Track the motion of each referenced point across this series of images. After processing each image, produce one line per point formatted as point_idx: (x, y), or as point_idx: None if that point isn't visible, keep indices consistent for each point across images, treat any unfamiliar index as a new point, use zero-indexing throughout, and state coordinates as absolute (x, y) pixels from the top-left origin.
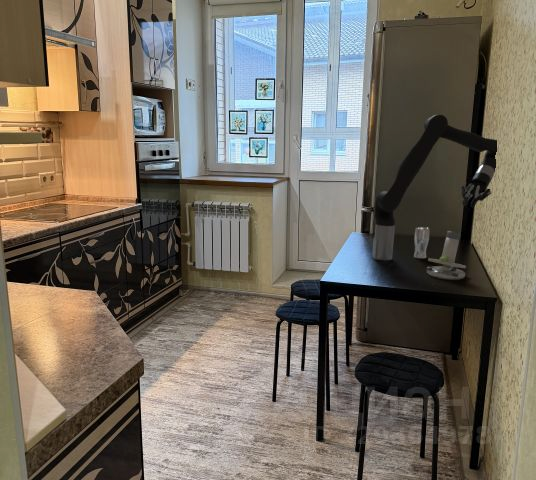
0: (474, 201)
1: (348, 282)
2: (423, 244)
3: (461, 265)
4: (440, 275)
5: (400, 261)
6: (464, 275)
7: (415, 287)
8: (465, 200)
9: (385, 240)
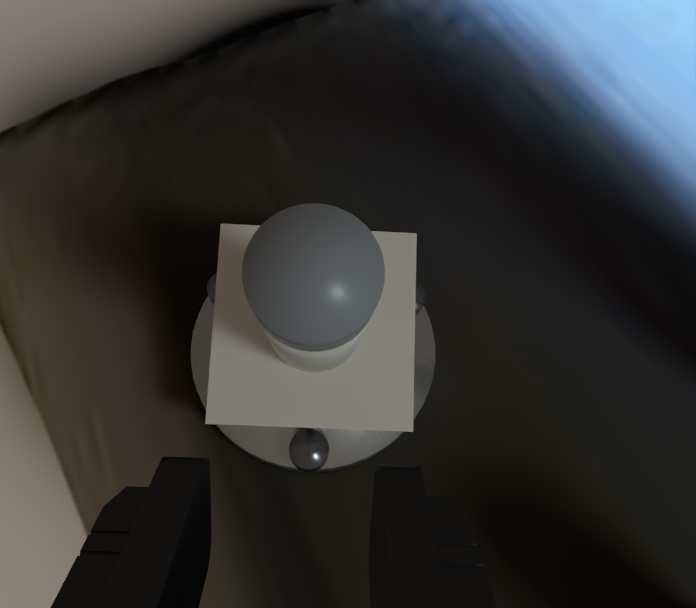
0: (105, 564)
1: None
2: None
3: (212, 342)
4: None
5: (685, 414)
6: (191, 363)
7: (313, 51)
8: (396, 527)
9: None
